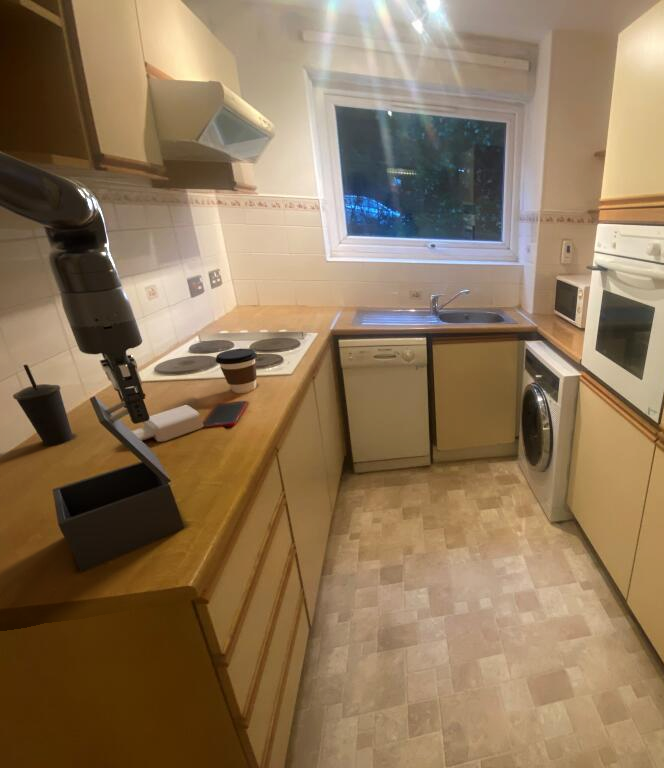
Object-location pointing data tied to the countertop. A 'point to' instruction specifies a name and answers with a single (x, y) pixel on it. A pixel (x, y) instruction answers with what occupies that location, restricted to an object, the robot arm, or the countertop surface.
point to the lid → (128, 436)
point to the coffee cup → (239, 369)
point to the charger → (170, 424)
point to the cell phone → (225, 414)
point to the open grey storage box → (115, 513)
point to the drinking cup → (45, 411)
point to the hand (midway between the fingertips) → (136, 413)
